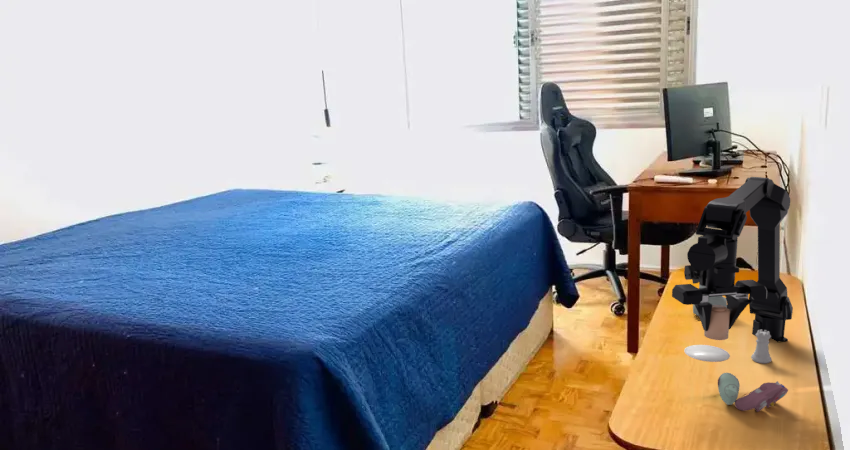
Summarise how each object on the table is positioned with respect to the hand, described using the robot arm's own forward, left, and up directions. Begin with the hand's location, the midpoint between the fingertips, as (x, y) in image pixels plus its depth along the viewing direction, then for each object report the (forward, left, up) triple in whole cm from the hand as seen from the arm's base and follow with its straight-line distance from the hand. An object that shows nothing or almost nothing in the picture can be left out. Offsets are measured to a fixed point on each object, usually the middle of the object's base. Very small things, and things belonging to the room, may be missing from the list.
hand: (716, 329), depth 146 cm
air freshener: (-20, -38, -12) cm, 45 cm away
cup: (0, 0, -2) cm, 2 cm away
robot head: (+3, +11, -12) cm, 17 cm away
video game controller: (-3, +13, -12) cm, 18 cm away
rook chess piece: (-15, -6, -12) cm, 20 cm away
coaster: (-5, -12, -12) cm, 18 cm away
